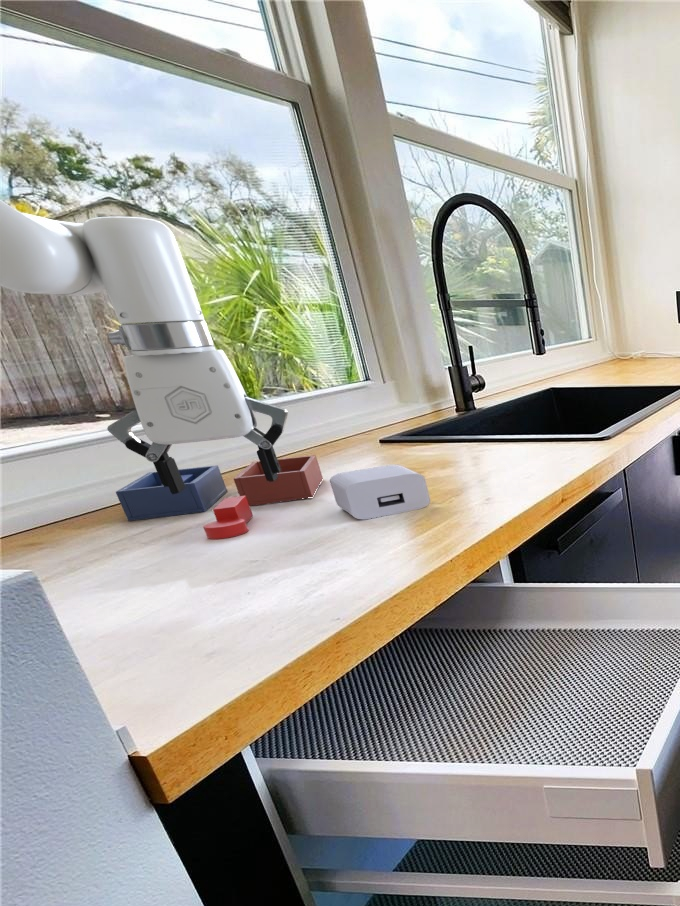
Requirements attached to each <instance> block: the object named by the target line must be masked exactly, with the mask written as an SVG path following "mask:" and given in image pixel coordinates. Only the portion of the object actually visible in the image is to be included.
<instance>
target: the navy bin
mask: <svg viewBox="0 0 680 906" xmlns="http://www.w3.org/2000/svg"><path fill="white" fill-rule="evenodd" d="M178 470H179V472H180V474H181V476H182V475H191V474H193V475H194V478H195V480H193V481H192V482H190V483H184V484H185V487H186V488H185V489H184V490H182V491H181V492H180V493H178V494H172V493H171V491H170V489H169V487H164V486H161V485H162V482H161V480H160V478H159V475H158V473H157V471H152V472H151V471H150V472H147V473H145V474H143V475H142V476H140V477H139V478H137V479H135V480H134V481H132V482H130V483H128V484H127V485H125V486H123V487H121V488H119V489H118V490H116V491H115V494H116V497H117V499H118V501H119V504H120V506H121V508H122V510H123V512H124V515H125V517H126V519H127V522H134V521H143V520H151V519H157V518H158V519H159V518H165V517H175V516H181V515H190V514H191V515H192V514H198V513H205V512H207V511H208V510H210V508H211V507H212V506H213V505H214V504H215V503H216V502H217V501H218V500H220V499H221V498H222V497H223V496H224V495H225V494H226V493H227V492H228V489H227V486H226V483H225V480H224V478H223V475H222V473H221V470H220V467H219V465H218V464H217V465H208V466H199V467H198V466H197V467H189V468H188V467H187V468H178ZM221 496H222V497H221ZM220 497H221V498H220ZM219 498H220V499H219Z"/></svg>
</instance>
